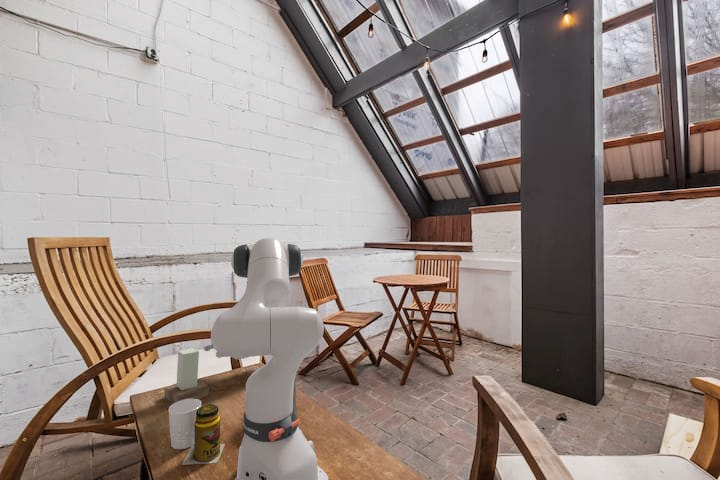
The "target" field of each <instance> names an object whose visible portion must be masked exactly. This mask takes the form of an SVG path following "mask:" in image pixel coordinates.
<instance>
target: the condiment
mask: <svg viewBox="0 0 720 480" xmlns="http://www.w3.org/2000/svg"><path fill="white" fill-rule="evenodd" d="M219 410H220V409H219V406H217V405H216V404H211V403H209V404H205V405H201V407H200V408H199V409H198V410H197V411H196V421H195V424H194V425H195V426H194V432H195V434H194V435H195V442H194V443H195V444H194V445H193V446H191V447H190V448H189V451H188V452H187V454H186V456H185V458H184V459H183V461H182V462H181V466H187V465H203V464H205V465H206V464H216V463H218V462H219V459H220V458H221V455H222V452H223V450H224V448H225V445H226V443H221V417H220V412H219Z"/></svg>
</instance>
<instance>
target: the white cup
mask: <svg viewBox="0 0 720 480" xmlns="http://www.w3.org/2000/svg"><path fill="white" fill-rule="evenodd" d="M200 407H202V400H200V399H184V400H181V401H178V402H176V403H172V404H171V405H170V406H169V407H168V423H169V436H170V441H171V443H170V445H171V447H172V449H174V450H180V451H181V450H185V449H190V448H191V446H194V445H195V443H194V442H195V435H194V434H195V432H194V426H195V425H194V424H195V421H196V411H197V410H198V409H199V408H200Z"/></svg>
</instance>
